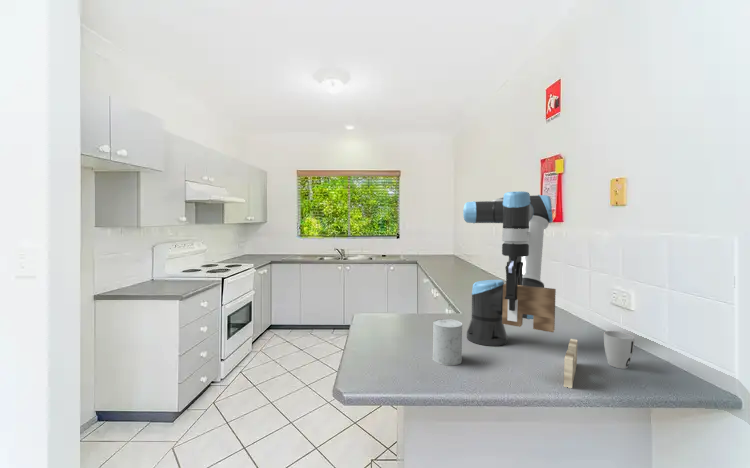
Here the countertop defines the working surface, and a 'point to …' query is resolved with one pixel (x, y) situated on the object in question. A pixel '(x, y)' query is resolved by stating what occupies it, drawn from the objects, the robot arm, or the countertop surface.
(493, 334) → the robot arm
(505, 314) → the brown wooden board
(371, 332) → the countertop surface
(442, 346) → the grey stone cylinder
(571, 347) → the maple plate
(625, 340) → the cup
